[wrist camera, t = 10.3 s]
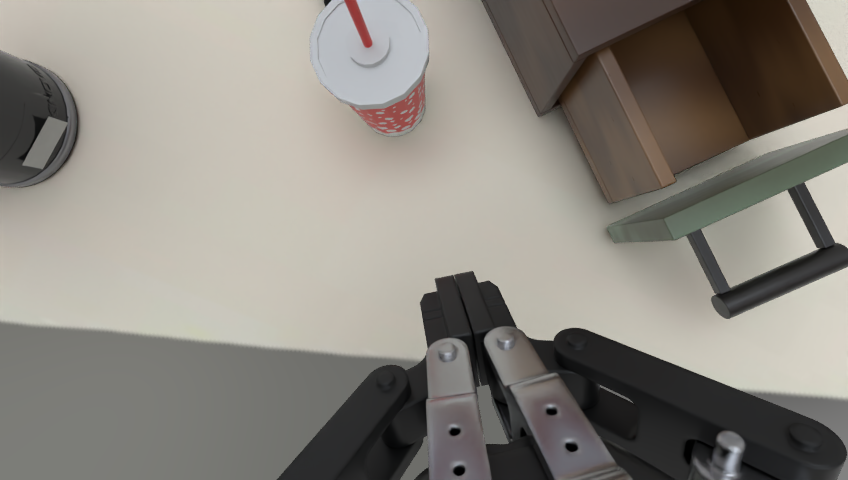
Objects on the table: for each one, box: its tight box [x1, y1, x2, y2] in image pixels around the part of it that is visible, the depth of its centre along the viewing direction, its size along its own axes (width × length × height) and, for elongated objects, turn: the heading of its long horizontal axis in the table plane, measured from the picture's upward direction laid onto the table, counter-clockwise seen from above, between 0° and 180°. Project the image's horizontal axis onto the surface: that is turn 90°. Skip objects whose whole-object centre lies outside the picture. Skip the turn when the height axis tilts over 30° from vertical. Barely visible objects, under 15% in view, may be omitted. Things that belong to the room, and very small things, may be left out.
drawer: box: [558, 0, 848, 319], centre depth 25 cm, size 19×11×8 cm, turn 25°
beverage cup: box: [310, 0, 429, 136], centre depth 24 cm, size 6×6×14 cm
